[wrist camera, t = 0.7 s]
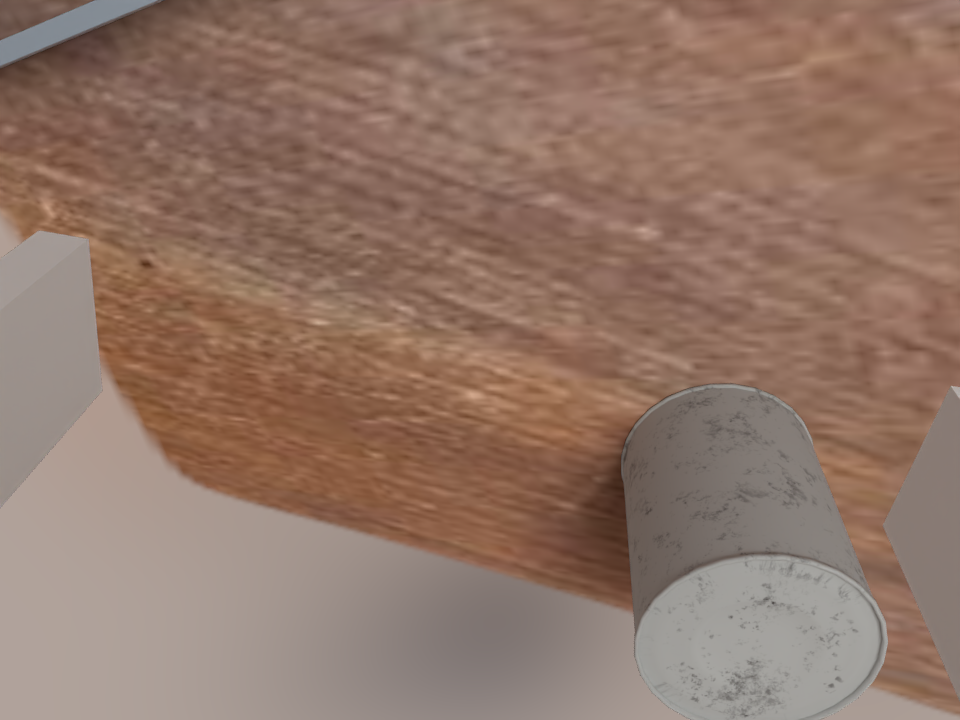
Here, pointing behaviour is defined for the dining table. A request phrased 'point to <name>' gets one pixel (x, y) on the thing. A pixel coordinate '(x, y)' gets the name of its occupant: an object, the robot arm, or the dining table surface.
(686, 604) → the concrete cylinder
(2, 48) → the bin
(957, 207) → the dining table surface
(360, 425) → the dining table surface
